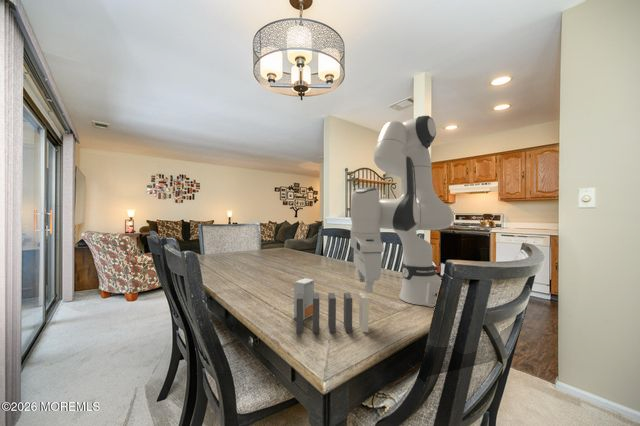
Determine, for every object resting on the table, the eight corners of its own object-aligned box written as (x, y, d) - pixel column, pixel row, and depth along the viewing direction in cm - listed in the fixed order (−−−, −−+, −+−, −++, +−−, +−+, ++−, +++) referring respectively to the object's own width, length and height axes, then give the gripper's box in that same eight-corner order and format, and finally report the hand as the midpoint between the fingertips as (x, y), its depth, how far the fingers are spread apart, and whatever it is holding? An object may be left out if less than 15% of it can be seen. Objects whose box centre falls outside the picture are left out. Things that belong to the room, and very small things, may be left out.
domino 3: (334, 325, 79) (334, 293, 79) (335, 332, 74) (335, 298, 74) (328, 325, 79) (328, 293, 79) (329, 332, 74) (329, 298, 74)
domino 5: (364, 324, 80) (365, 292, 79) (368, 332, 75) (368, 298, 74) (359, 324, 79) (359, 292, 79) (362, 332, 74) (362, 298, 74)
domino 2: (318, 325, 79) (318, 293, 79) (319, 333, 74) (319, 298, 74) (312, 325, 79) (312, 293, 79) (313, 333, 74) (313, 298, 74)
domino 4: (349, 324, 79) (349, 292, 79) (352, 332, 74) (352, 298, 74) (343, 325, 79) (343, 292, 79) (345, 332, 74) (346, 298, 74)
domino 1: (303, 325, 79) (303, 293, 79) (302, 333, 74) (302, 298, 74) (297, 325, 79) (297, 293, 78) (296, 333, 74) (296, 298, 74)
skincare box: (303, 320, 82) (304, 283, 82) (293, 317, 84) (293, 281, 84) (314, 314, 87) (314, 279, 87) (304, 311, 89) (304, 277, 89)
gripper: (349, 236, 87) (349, 276, 88) (362, 247, 67) (361, 299, 67) (367, 236, 87) (367, 276, 88) (385, 247, 67) (385, 298, 68)
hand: (365, 286), depth 77 cm, fingers open, 8 cm apart
